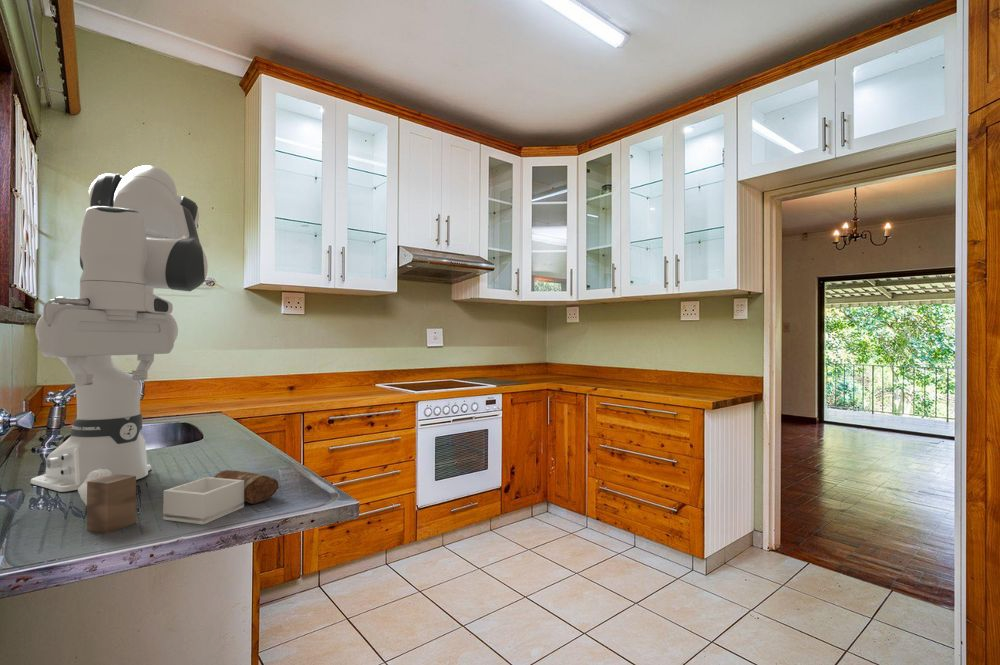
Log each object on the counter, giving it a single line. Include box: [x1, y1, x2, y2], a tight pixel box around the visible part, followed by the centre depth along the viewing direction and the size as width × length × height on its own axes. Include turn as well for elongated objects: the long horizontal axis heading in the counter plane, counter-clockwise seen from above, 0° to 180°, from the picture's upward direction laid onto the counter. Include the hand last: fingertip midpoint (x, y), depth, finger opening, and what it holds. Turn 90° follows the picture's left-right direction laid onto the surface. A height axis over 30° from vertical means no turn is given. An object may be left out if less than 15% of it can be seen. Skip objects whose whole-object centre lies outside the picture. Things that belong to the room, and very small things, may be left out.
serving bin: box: [162, 476, 245, 525], centre depth 87 cm, size 9×9×5 cm
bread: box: [214, 469, 280, 505], centre depth 98 cm, size 6×19×6 cm, turn 50°
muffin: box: [77, 469, 112, 506], centre depth 91 cm, size 6×6×7 cm
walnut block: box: [86, 474, 137, 534], centre depth 81 cm, size 5×5×8 cm
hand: (113, 382), depth 81 cm, fingers open, 8 cm apart
